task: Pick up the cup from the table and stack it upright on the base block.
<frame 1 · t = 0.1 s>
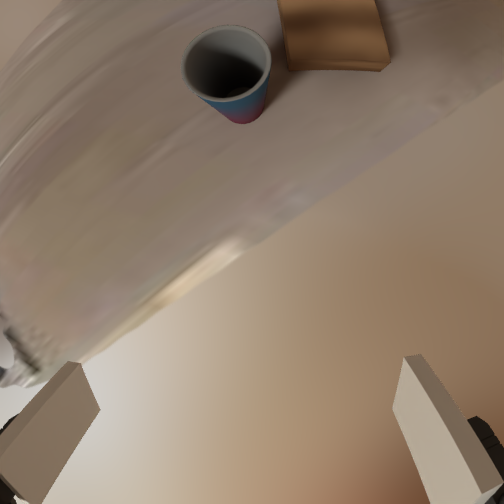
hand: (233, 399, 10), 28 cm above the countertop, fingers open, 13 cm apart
base block: (328, 31, 30), on the countertop
cup: (243, 104, 34), on the countertop
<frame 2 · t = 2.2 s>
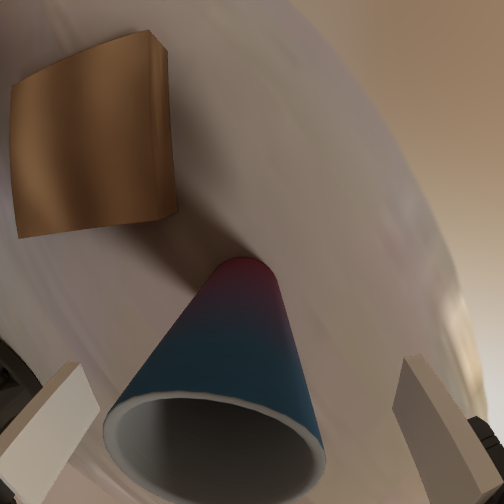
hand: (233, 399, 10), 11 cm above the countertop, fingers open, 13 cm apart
base block: (96, 142, 19), on the countertop
cup: (243, 289, 22), on the countertop
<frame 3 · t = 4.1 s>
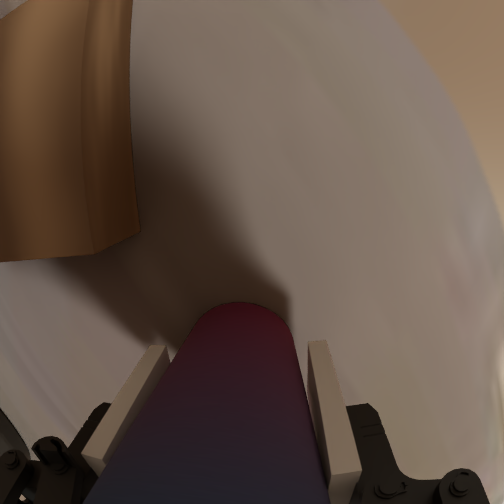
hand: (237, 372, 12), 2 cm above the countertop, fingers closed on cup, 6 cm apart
base block: (36, 132, 12), on the countertop
cup: (242, 346, 14), on the countertop, touching gripper
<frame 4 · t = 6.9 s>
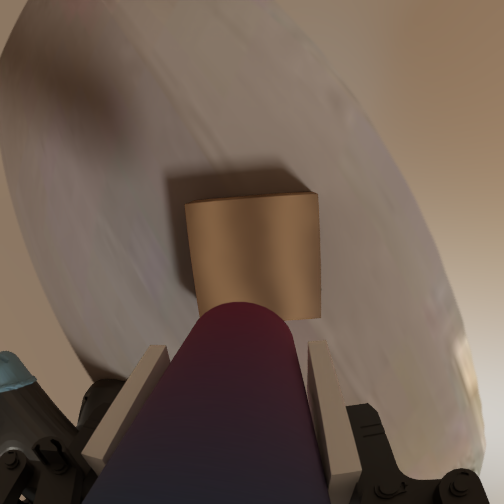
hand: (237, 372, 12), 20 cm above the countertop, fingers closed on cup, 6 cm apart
base block: (257, 252, 32), on the countertop
cup: (242, 346, 14), point 18 cm above the countertop, touching gripper
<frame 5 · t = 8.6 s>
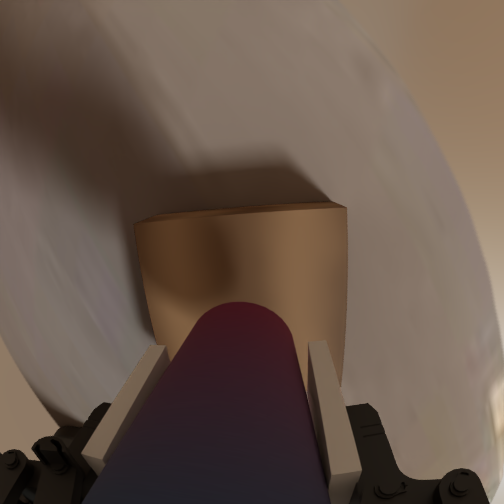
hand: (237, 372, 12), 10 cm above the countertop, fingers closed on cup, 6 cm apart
base block: (249, 291, 21), on the countertop
cup: (242, 346, 14), point 7 cm above the countertop, touching gripper
when the fingers open (7 cm above the countertop, at t = 9.9 s): cup drops 1 cm, resting on base block.
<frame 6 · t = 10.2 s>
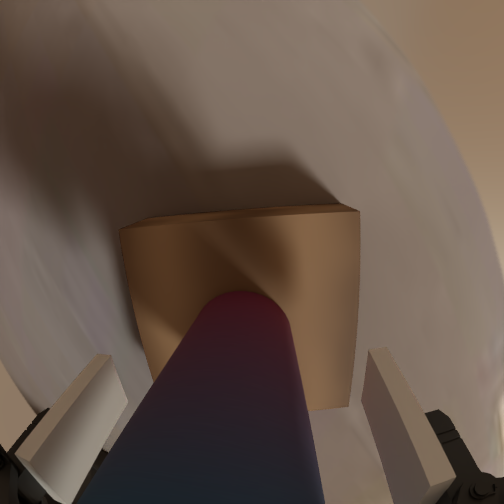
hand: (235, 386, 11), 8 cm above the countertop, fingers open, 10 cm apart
base block: (249, 303, 19), on the countertop
cup: (243, 332, 16), point 4 cm above the countertop, touching base block
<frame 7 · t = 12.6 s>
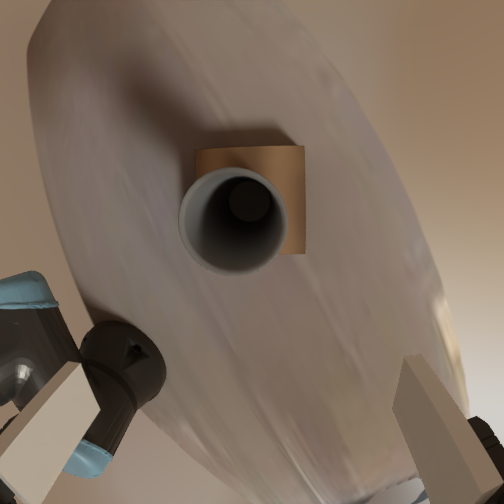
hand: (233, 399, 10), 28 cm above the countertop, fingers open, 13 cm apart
base block: (252, 198, 37), on the countertop
cup: (249, 200, 33), point 4 cm above the countertop, touching base block
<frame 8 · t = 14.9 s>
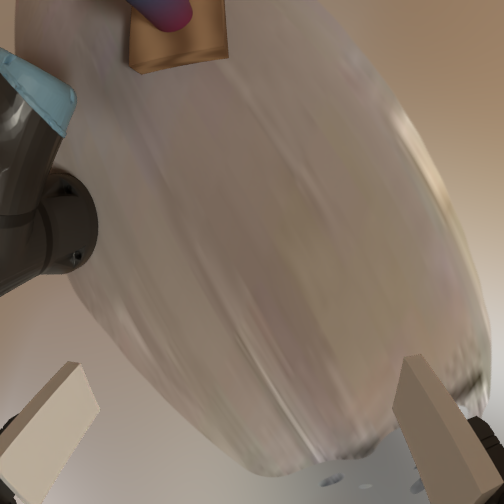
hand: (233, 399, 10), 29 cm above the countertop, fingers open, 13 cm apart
base block: (182, 29, 32), on the countertop
cup: (173, 17, 28), point 4 cm above the countertop, touching base block
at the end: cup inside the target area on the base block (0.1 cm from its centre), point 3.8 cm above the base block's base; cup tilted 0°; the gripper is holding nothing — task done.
